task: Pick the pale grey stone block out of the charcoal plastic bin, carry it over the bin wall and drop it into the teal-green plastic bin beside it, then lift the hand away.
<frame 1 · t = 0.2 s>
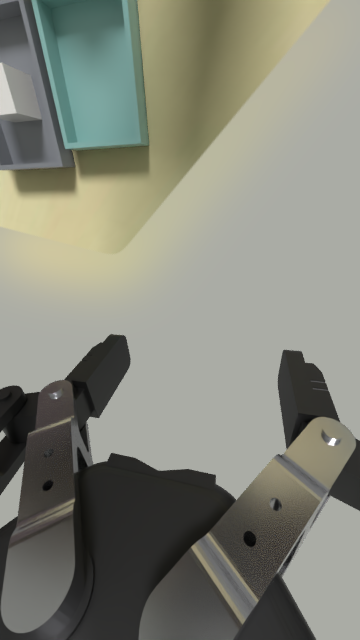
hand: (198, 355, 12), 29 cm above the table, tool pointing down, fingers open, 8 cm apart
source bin: (26, 101, 34), on the table
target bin: (102, 80, 31), on the table
stone block: (22, 100, 33), point 1 cm above the table, touching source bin
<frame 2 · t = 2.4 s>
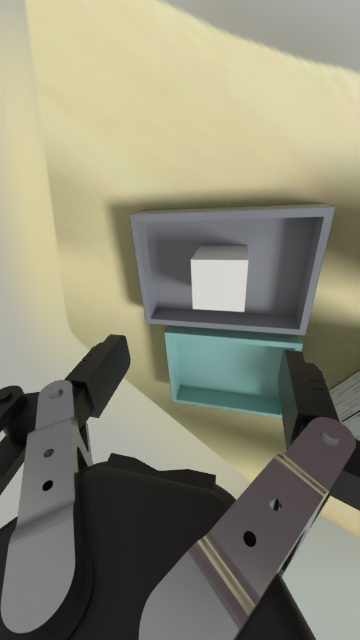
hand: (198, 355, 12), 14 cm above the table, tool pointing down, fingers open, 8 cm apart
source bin: (223, 266, 25), on the table
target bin: (229, 360, 30), on the table
stone block: (223, 268, 24), point 1 cm above the table, touching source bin
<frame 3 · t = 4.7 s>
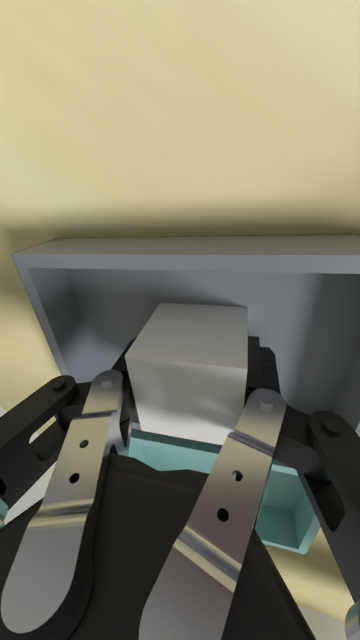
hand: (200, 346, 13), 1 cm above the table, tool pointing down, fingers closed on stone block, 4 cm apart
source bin: (204, 334, 14), on the table
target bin: (218, 457, 20), on the table
stone block: (202, 340, 14), point 1 cm above the table, touching gripper, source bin
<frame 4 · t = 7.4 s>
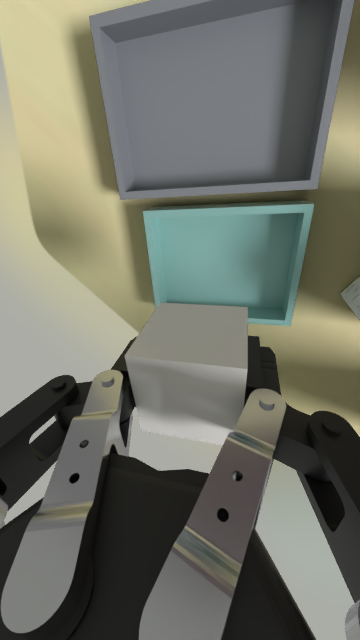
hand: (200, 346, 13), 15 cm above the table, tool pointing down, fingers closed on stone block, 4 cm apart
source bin: (214, 115, 20), on the table
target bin: (223, 261, 25), on the table
stone block: (202, 340, 14), point 14 cm above the table, touching gripper
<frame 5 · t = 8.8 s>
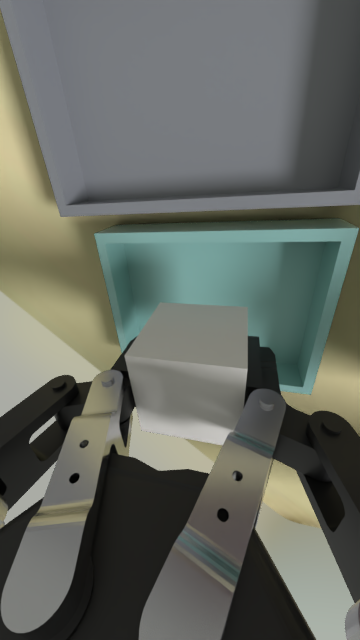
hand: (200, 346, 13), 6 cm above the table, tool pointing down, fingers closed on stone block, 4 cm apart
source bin: (197, 87, 13), on the table
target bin: (215, 299, 18), on the table
stone block: (202, 340, 14), point 6 cm above the table, touching gripper
when the fingers open (3 cm above the table, at t = 10.2 s): stone block drops 2 cm, resting on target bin.
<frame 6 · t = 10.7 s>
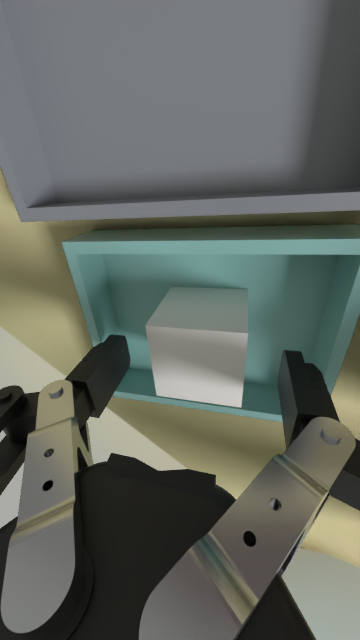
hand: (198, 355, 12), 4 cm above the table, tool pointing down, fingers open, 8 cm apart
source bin: (183, 61, 10), on the table
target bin: (208, 316, 16), on the table
stone block: (208, 320, 15), point 1 cm above the table, touching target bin
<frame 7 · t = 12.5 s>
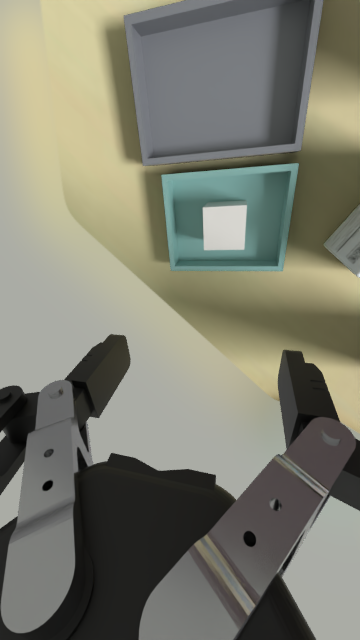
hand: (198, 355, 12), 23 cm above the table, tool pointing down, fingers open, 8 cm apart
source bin: (219, 94, 25), on the table
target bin: (226, 220, 31), on the table
stone block: (226, 221, 30), point 1 cm above the table, touching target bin
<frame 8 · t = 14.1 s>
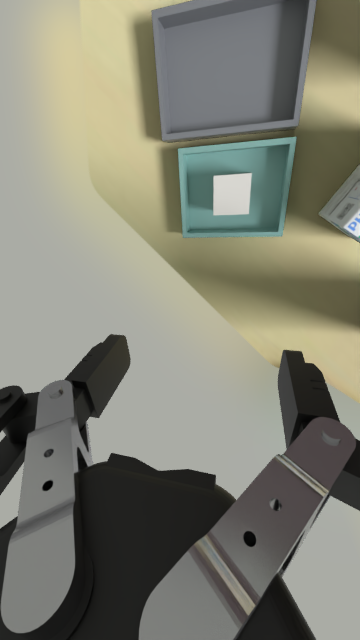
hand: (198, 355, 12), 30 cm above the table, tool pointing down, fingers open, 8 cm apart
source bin: (229, 78, 29), on the table
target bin: (233, 192, 35), on the table
stone block: (233, 192, 34), point 1 cm above the table, touching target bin
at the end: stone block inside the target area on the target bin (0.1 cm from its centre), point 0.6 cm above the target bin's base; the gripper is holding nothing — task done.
